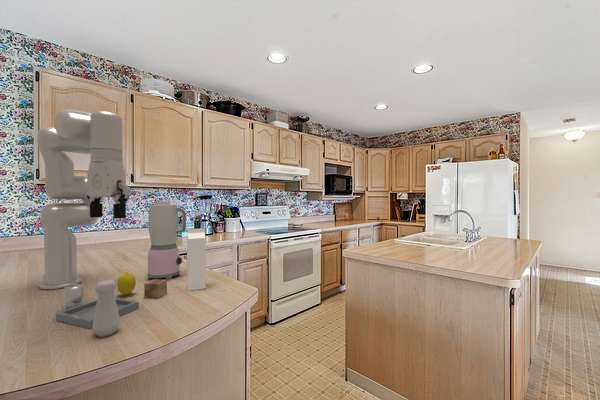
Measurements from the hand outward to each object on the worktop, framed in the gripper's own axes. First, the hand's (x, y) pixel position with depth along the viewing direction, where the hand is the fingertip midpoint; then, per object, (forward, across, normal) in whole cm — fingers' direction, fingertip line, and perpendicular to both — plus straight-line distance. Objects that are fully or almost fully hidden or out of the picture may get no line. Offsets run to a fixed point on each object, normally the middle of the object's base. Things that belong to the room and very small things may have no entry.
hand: (107, 217), depth 79 cm
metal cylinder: (+28, -15, 0) cm, 32 cm away
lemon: (+28, -11, +14) cm, 33 cm away
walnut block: (+28, -1, +17) cm, 33 cm away
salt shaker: (+28, +9, -7) cm, 31 cm away
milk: (+28, +5, +29) cm, 41 cm away
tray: (+28, -4, 0) cm, 28 cm away
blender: (+28, -16, +36) cm, 48 cm away
